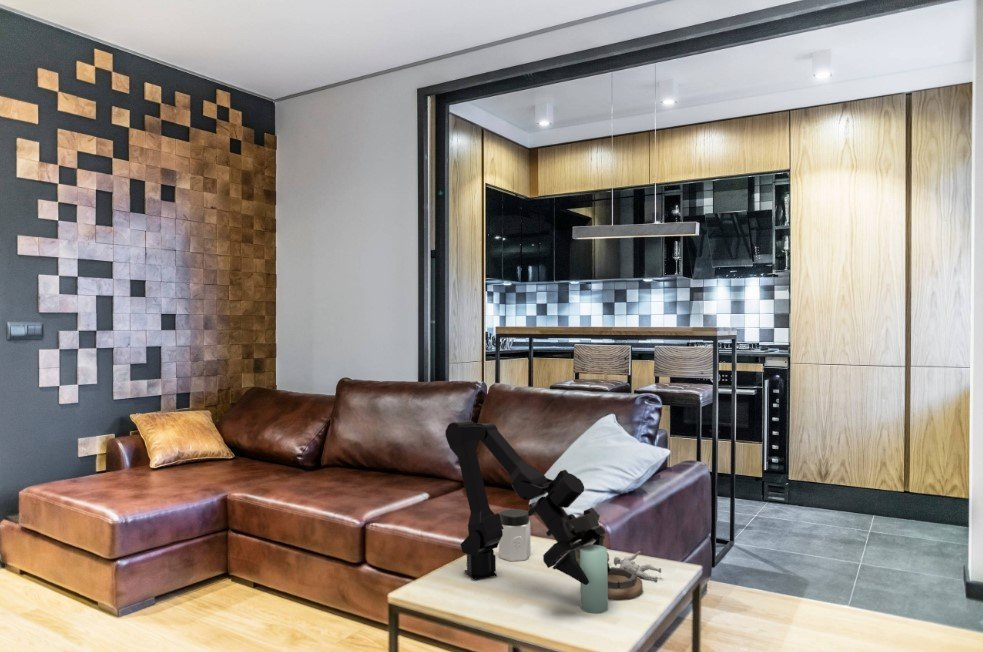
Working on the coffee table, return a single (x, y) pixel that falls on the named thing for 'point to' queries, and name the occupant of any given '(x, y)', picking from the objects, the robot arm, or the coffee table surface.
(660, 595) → the coffee table surface
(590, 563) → the column
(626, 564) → the soldier figure
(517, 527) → the jar
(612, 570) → the segmented ring tray
